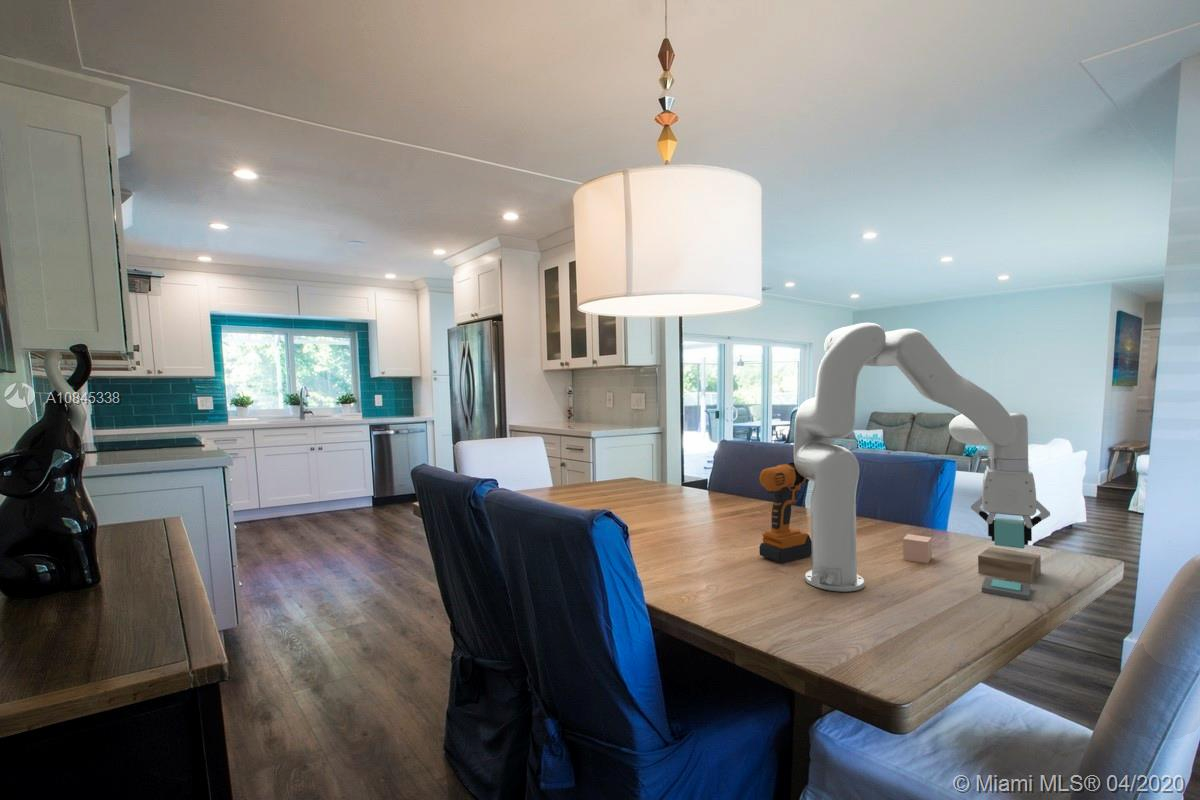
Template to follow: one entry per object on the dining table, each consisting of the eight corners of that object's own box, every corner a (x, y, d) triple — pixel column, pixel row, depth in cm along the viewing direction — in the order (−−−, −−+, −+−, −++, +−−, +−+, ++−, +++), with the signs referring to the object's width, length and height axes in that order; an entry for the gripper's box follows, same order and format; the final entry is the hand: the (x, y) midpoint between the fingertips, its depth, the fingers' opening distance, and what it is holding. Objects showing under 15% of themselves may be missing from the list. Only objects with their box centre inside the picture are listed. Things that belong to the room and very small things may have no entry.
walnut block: (1031, 584, 122) (1031, 564, 122) (978, 574, 129) (978, 555, 129) (1040, 574, 129) (1040, 555, 128) (989, 564, 136) (989, 546, 136)
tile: (1029, 600, 112) (1029, 594, 112) (981, 592, 118) (981, 586, 118) (1030, 588, 119) (1029, 582, 119) (985, 581, 124) (985, 575, 124)
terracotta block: (928, 563, 137) (927, 542, 137) (903, 559, 141) (903, 538, 141) (931, 558, 141) (931, 537, 141) (907, 554, 145) (907, 534, 145)
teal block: (1024, 548, 125) (1023, 524, 125) (994, 545, 128) (994, 521, 128) (1024, 543, 129) (1024, 520, 129) (996, 539, 133) (995, 517, 133)
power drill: (807, 545, 155) (805, 457, 155) (830, 551, 149) (828, 460, 149) (753, 559, 144) (751, 464, 144) (776, 566, 138) (774, 467, 137)
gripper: (962, 465, 131) (964, 540, 131) (1055, 469, 120) (1057, 551, 121) (966, 461, 137) (967, 533, 137) (1055, 465, 126) (1056, 543, 126)
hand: (1009, 540), depth 129 cm, fingers closed on teal block, 5 cm apart
